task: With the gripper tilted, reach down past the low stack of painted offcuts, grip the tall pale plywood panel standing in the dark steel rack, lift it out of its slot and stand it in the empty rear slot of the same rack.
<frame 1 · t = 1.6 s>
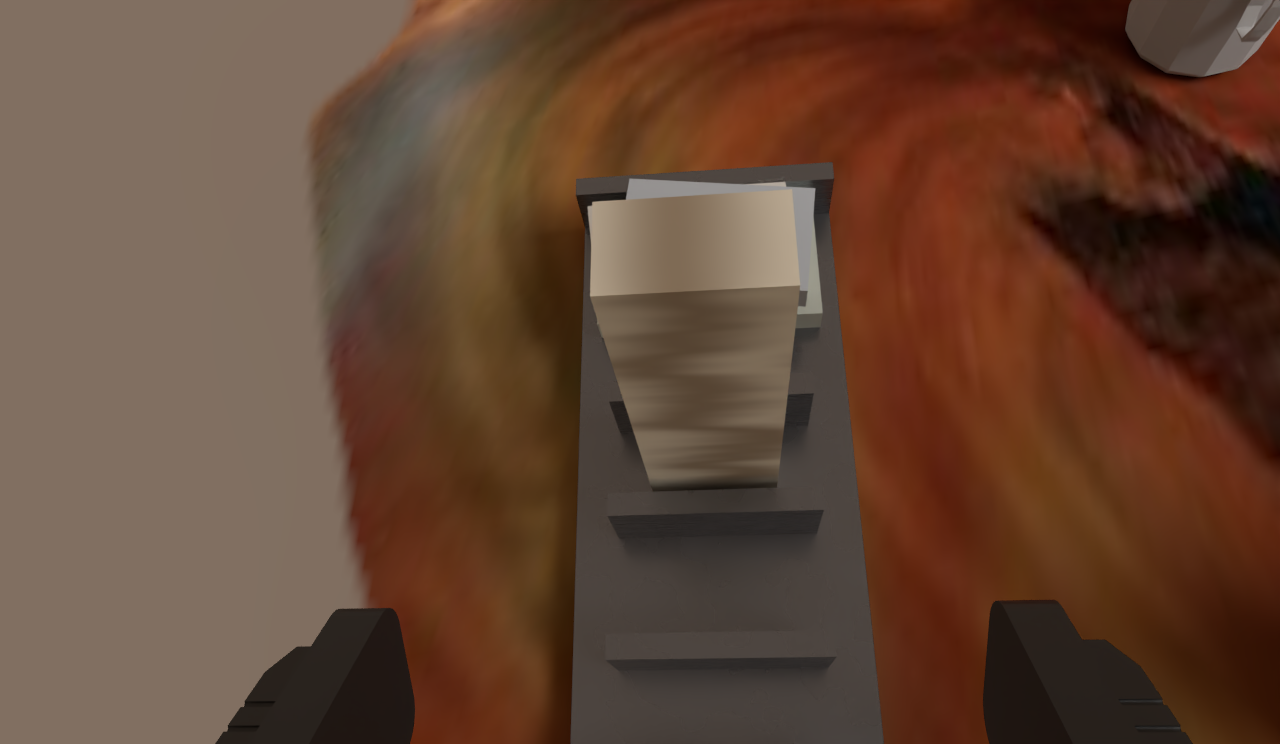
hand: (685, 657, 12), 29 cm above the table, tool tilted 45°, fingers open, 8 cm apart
water bottle: (1187, 52, 51), on the table
offcut stack: (707, 277, 47), resting on rack
panel: (714, 471, 42), point 1 cm above the table, touching rack
rack: (715, 480, 44), on the table
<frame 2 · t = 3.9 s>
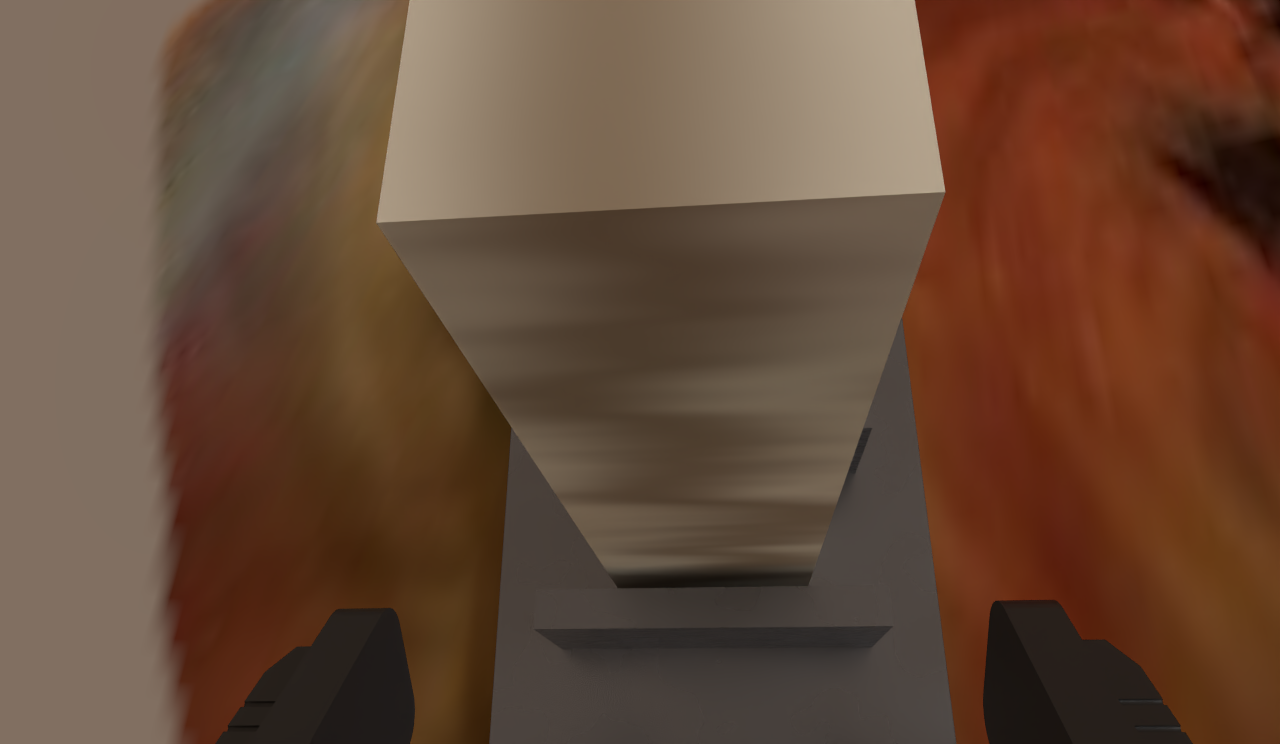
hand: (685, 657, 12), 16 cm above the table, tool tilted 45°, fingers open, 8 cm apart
panel: (711, 542, 27), point 1 cm above the table, touching rack
rack: (713, 553, 29), on the table
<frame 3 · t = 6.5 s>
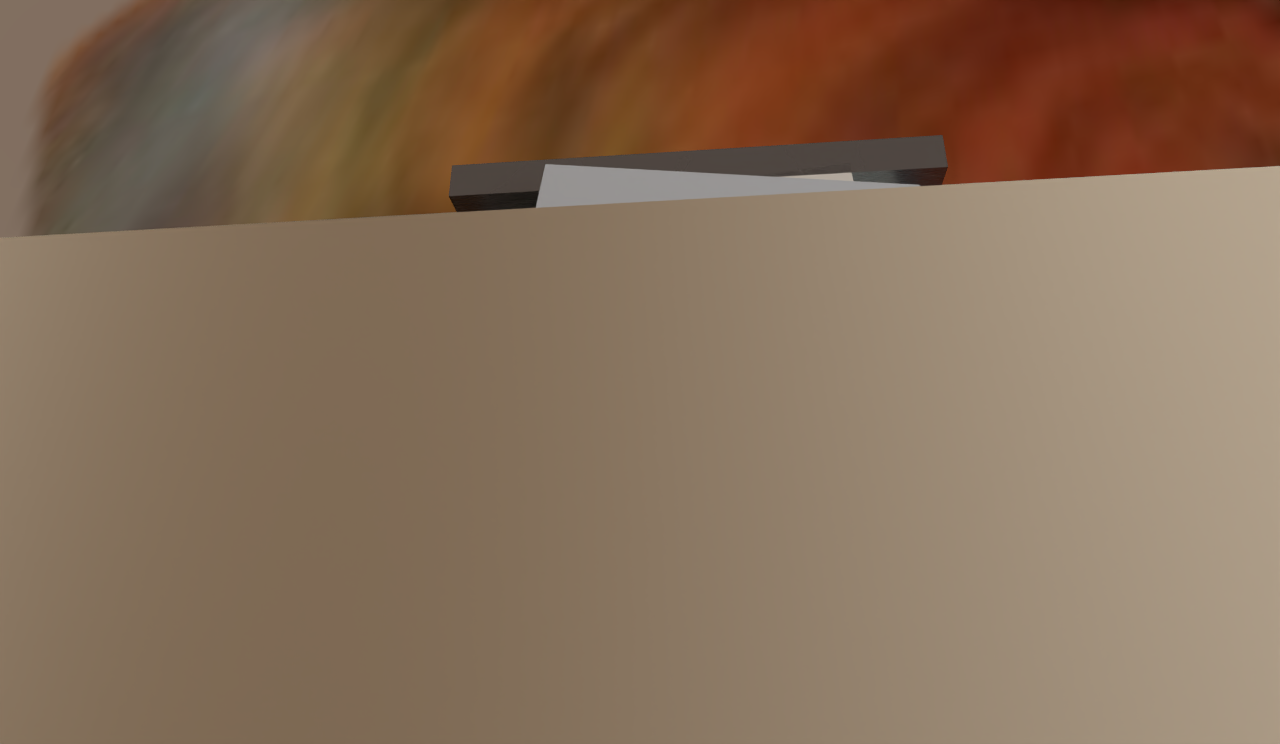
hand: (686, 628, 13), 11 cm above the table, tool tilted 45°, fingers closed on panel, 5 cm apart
offcut stack: (699, 352, 25), resting on rack
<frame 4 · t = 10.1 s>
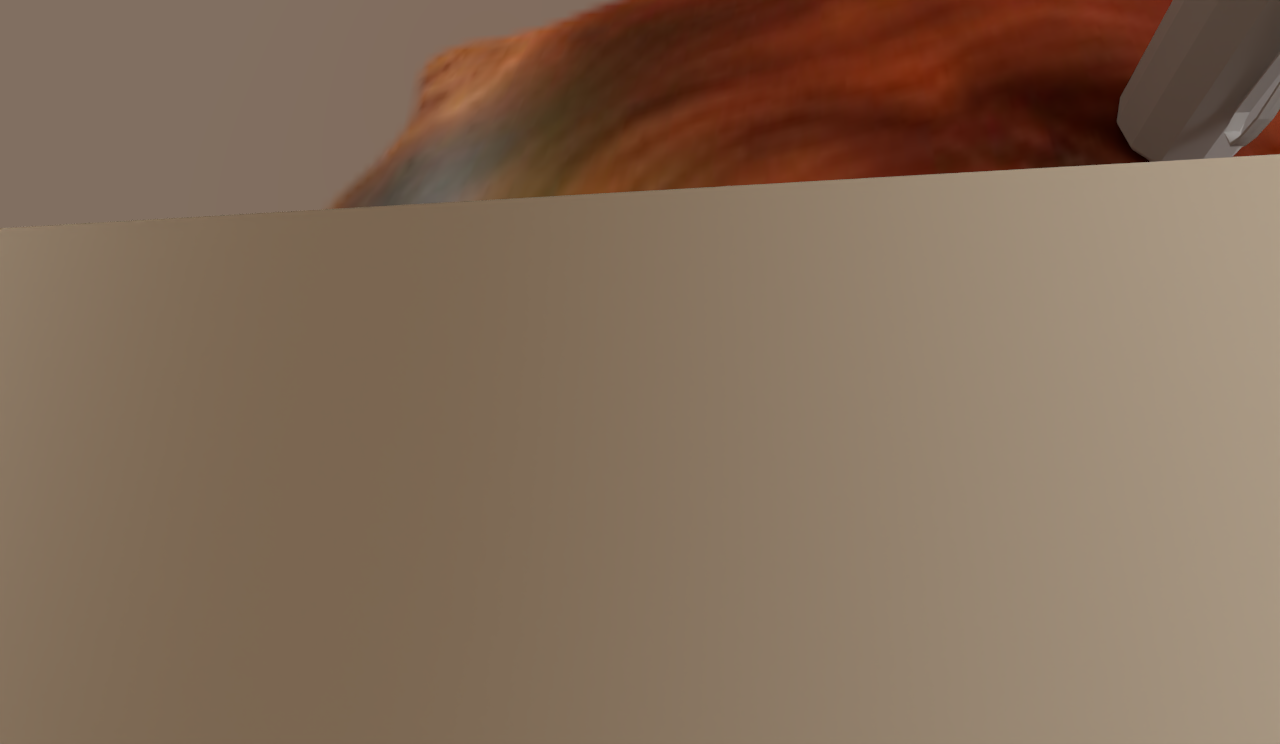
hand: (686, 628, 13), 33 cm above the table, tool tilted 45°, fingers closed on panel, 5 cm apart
water bottle: (1177, 142, 52), on the table
when the fingers open (12 cm above the table, at t = 14.1 s): panel stays where it is, resting on rack.
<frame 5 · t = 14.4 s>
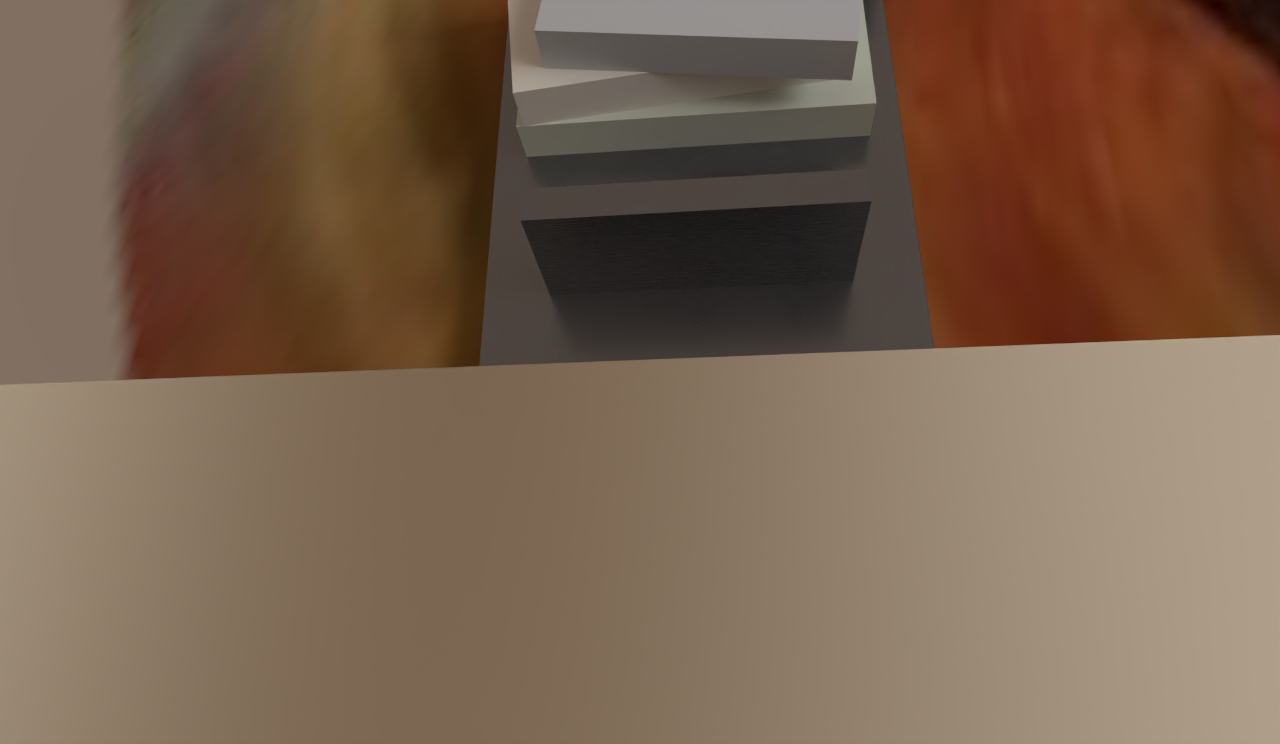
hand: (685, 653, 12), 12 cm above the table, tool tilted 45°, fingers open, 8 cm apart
offcut stack: (693, 69, 30), resting on rack
rack: (702, 373, 27), on the table
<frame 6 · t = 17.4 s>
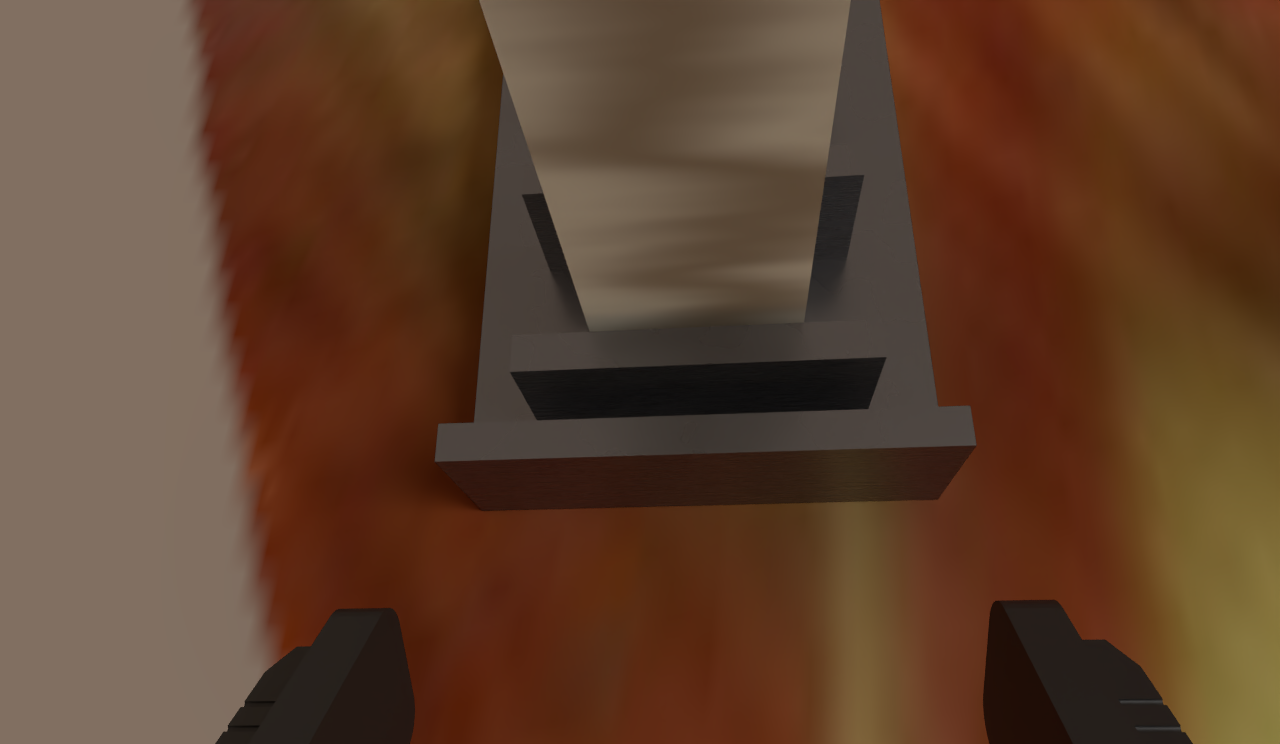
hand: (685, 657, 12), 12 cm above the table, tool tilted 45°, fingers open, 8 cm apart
panel: (698, 327, 26), point 1 cm above the table, touching rack
rack: (692, 71, 32), on the table
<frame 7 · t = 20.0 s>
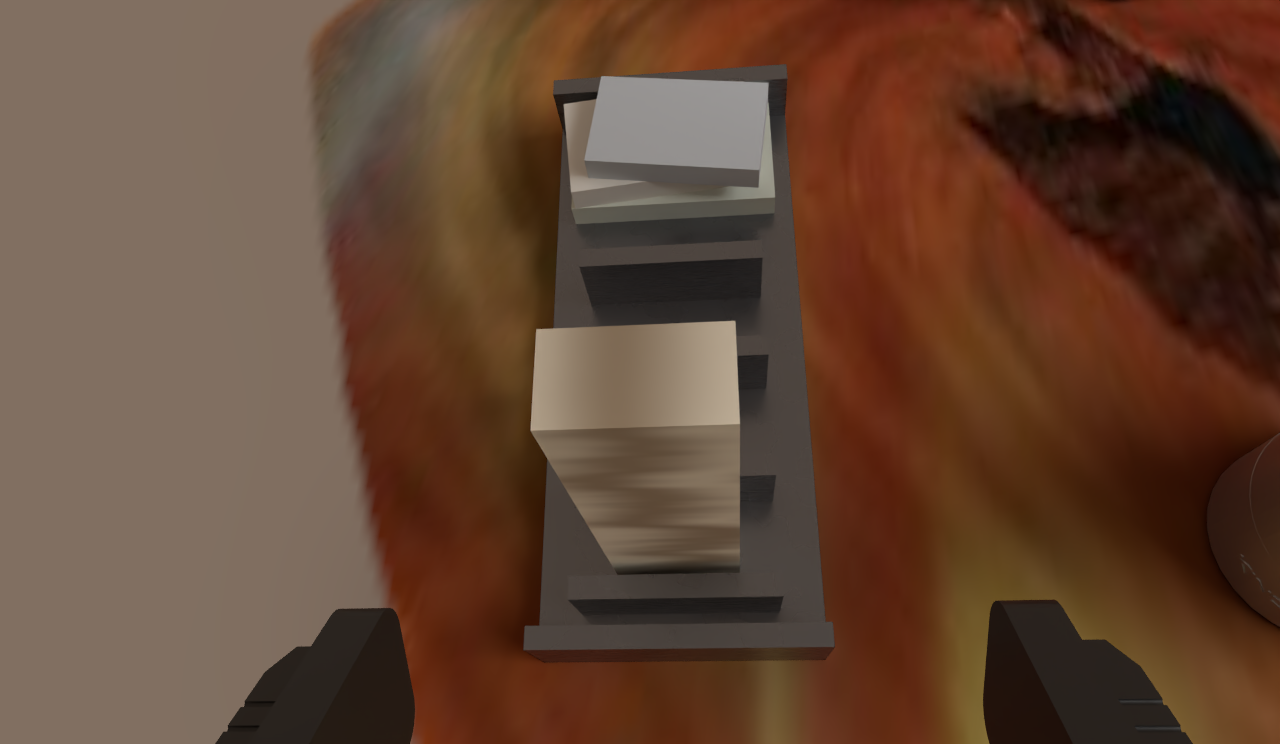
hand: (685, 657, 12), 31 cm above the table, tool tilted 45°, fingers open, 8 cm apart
offcut stack: (673, 171, 51), resting on rack
panel: (679, 547, 42), point 1 cm above the table, touching rack
rack: (677, 349, 48), on the table
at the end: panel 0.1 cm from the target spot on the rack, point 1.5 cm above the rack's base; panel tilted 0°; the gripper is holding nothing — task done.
